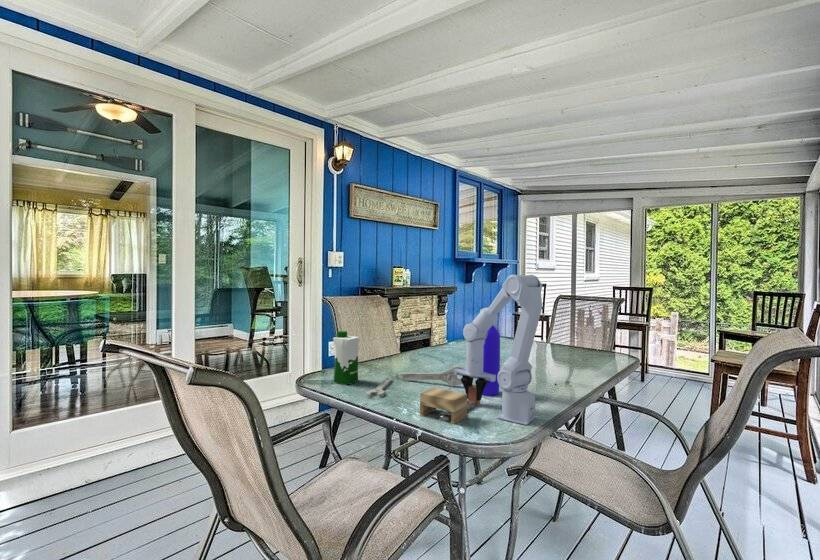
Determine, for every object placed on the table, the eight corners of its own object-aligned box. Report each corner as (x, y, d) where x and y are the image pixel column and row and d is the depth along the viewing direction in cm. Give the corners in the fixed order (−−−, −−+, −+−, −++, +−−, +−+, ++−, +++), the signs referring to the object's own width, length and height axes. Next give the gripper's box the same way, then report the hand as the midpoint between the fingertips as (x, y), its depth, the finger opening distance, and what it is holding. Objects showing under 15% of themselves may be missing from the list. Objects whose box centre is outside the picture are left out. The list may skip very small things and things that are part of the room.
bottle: (502, 392, 157) (504, 312, 157) (494, 397, 150) (495, 313, 150) (482, 388, 162) (483, 310, 161) (472, 393, 155) (474, 312, 154)
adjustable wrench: (385, 381, 173) (386, 377, 173) (400, 382, 171) (401, 378, 171) (363, 398, 149) (363, 393, 149) (380, 399, 147) (381, 394, 147)
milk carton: (343, 378, 175) (343, 330, 175) (361, 380, 171) (362, 331, 171) (330, 382, 167) (330, 332, 167) (349, 385, 163) (350, 334, 163)
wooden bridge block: (466, 416, 130) (467, 394, 130) (453, 424, 123) (454, 400, 123) (433, 409, 137) (434, 387, 137) (419, 415, 130) (420, 393, 130)
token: (456, 419, 128) (456, 414, 128) (449, 423, 125) (449, 418, 125) (443, 416, 131) (443, 411, 131) (436, 420, 127) (436, 415, 127)
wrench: (398, 386, 175) (468, 386, 163) (396, 387, 173) (467, 387, 161) (396, 366, 175) (466, 365, 163) (394, 367, 174) (464, 366, 162)
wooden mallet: (480, 403, 143) (480, 386, 143) (455, 417, 129) (455, 397, 129) (472, 401, 145) (472, 384, 145) (446, 415, 131) (447, 396, 131)
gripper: (499, 360, 141) (499, 400, 142) (461, 354, 150) (460, 392, 150) (490, 363, 136) (490, 405, 136) (451, 357, 144) (450, 397, 144)
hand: (474, 399), depth 143 cm, fingers closed on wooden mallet, 3 cm apart
